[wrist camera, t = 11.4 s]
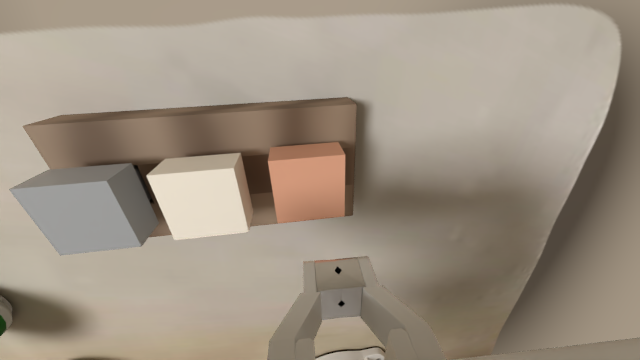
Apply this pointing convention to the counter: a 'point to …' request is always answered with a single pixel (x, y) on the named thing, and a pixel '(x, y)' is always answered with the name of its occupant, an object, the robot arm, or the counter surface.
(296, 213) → the terracotta key
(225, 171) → the ivory key
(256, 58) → the counter surface
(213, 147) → the keypad board
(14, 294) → the counter surface
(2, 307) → the soda can
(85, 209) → the slate key
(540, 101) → the counter surface
